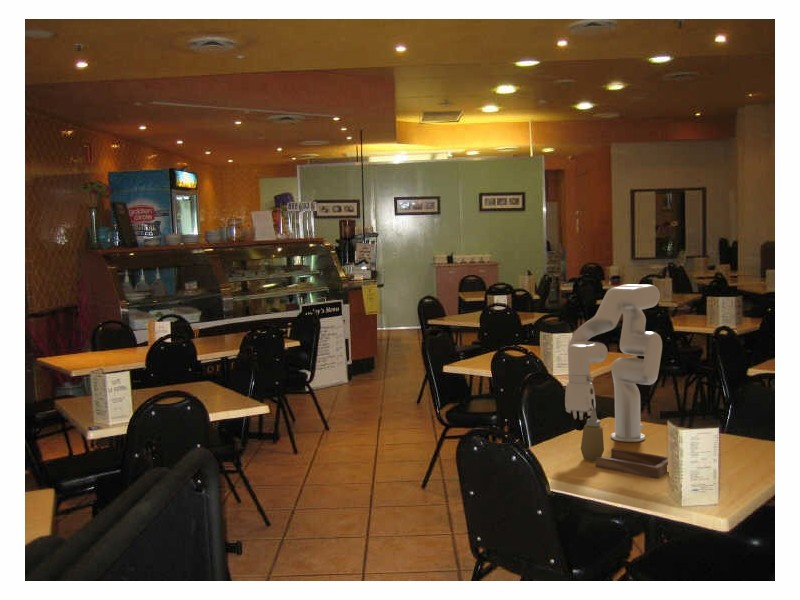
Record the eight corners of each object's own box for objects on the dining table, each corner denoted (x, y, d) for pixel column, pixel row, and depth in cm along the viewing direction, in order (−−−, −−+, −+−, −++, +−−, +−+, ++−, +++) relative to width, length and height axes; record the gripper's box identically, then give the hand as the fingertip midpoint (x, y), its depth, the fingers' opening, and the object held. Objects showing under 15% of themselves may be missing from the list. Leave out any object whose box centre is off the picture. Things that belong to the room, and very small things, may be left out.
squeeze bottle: (604, 464, 262) (606, 414, 260) (580, 462, 264) (582, 413, 261) (602, 456, 270) (604, 407, 267) (579, 454, 272) (581, 406, 269)
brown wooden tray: (613, 457, 269) (613, 448, 268) (674, 468, 254) (674, 458, 254) (595, 466, 259) (595, 456, 259) (657, 478, 244) (657, 468, 244)
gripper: (603, 379, 265) (604, 430, 266) (566, 375, 275) (567, 424, 277) (593, 382, 260) (594, 435, 261) (555, 378, 270) (556, 428, 271)
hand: (580, 429), depth 269 cm, fingers closed
